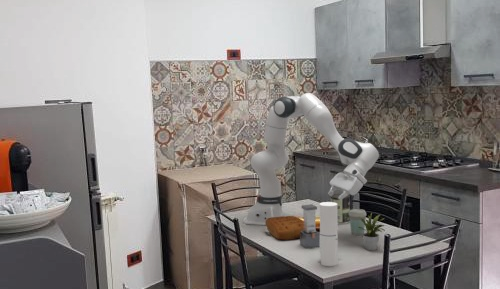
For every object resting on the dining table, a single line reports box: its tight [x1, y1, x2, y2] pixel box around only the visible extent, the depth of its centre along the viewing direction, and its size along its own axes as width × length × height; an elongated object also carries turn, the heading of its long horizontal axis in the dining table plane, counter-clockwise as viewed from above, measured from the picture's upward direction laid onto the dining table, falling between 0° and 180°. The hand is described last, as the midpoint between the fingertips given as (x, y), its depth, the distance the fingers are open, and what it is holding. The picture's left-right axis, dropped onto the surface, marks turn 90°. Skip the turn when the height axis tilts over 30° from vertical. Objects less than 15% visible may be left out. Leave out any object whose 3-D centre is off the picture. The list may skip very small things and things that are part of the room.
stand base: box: [299, 230, 320, 250], centre depth 228 cm, size 12×12×8 cm
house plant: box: [357, 212, 386, 251], centre depth 224 cm, size 14×14×16 cm
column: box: [301, 203, 318, 234], centre depth 227 cm, size 5×5×18 cm
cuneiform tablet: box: [265, 215, 304, 241], centre depth 247 cm, size 22×17×8 cm
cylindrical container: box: [319, 201, 339, 267], centre depth 207 cm, size 7×7×25 cm
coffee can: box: [329, 193, 351, 225], centre depth 269 cm, size 10×10×14 cm
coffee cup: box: [349, 208, 367, 238], centre depth 245 cm, size 8×8×12 cm
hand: (334, 197), depth 229 cm, fingers open, 8 cm apart
